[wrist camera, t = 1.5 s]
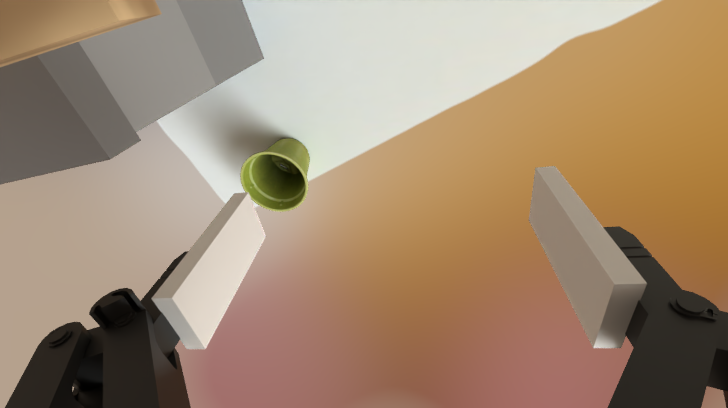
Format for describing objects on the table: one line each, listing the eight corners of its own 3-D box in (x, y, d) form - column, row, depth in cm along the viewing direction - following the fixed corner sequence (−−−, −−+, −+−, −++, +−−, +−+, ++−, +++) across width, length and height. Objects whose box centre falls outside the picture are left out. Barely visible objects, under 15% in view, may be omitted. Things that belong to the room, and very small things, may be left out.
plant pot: (331, 149, 53) (320, 177, 46) (303, 191, 58) (289, 222, 50) (277, 115, 51) (255, 138, 43) (253, 162, 55) (230, 189, 48)
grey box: (86, -51, 41) (-395, -90, 17) (208, -100, 38) (-176, -246, 13) (163, 89, 50) (-75, 201, 25) (268, 61, 46) (110, 159, 22)
